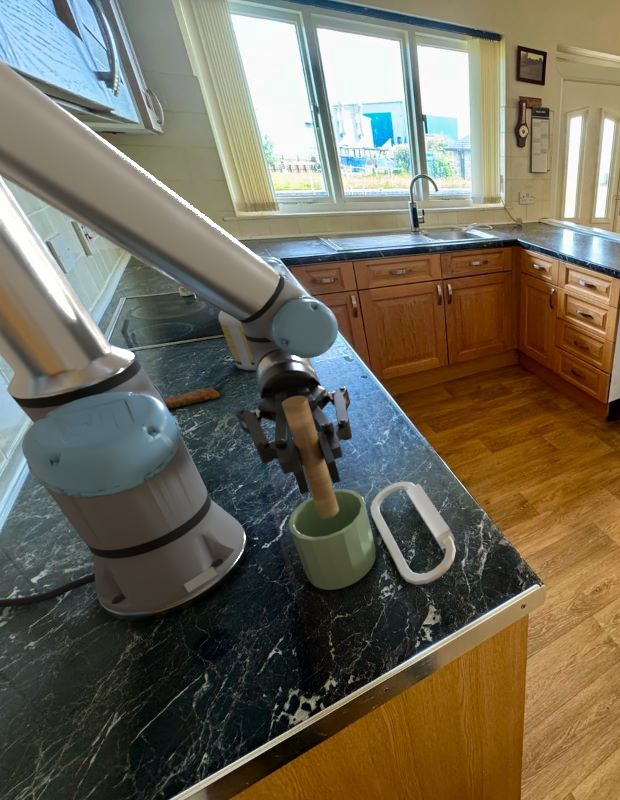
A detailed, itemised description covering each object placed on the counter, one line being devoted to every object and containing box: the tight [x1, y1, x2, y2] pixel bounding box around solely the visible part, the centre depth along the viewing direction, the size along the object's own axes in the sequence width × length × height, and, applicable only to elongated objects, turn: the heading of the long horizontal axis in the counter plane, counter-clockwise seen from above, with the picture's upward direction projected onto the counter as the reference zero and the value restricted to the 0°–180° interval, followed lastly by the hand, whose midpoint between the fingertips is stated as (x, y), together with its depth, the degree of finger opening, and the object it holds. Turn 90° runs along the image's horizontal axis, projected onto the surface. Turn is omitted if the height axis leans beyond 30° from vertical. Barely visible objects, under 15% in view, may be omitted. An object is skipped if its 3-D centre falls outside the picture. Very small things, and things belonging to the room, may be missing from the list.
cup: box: [288, 488, 377, 591], centre depth 55 cm, size 9×9×9 cm
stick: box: [282, 396, 339, 519], centre depth 49 cm, size 2×2×16 cm
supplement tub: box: [217, 309, 256, 371], centre depth 106 cm, size 12×12×17 cm
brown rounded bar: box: [164, 387, 221, 410], centre depth 88 cm, size 19×6×4 cm, turn 143°
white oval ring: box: [370, 481, 457, 586], centre depth 61 cm, size 20×8×4 cm, turn 35°
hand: (318, 477), depth 44 cm, fingers closed on stick, 2 cm apart
